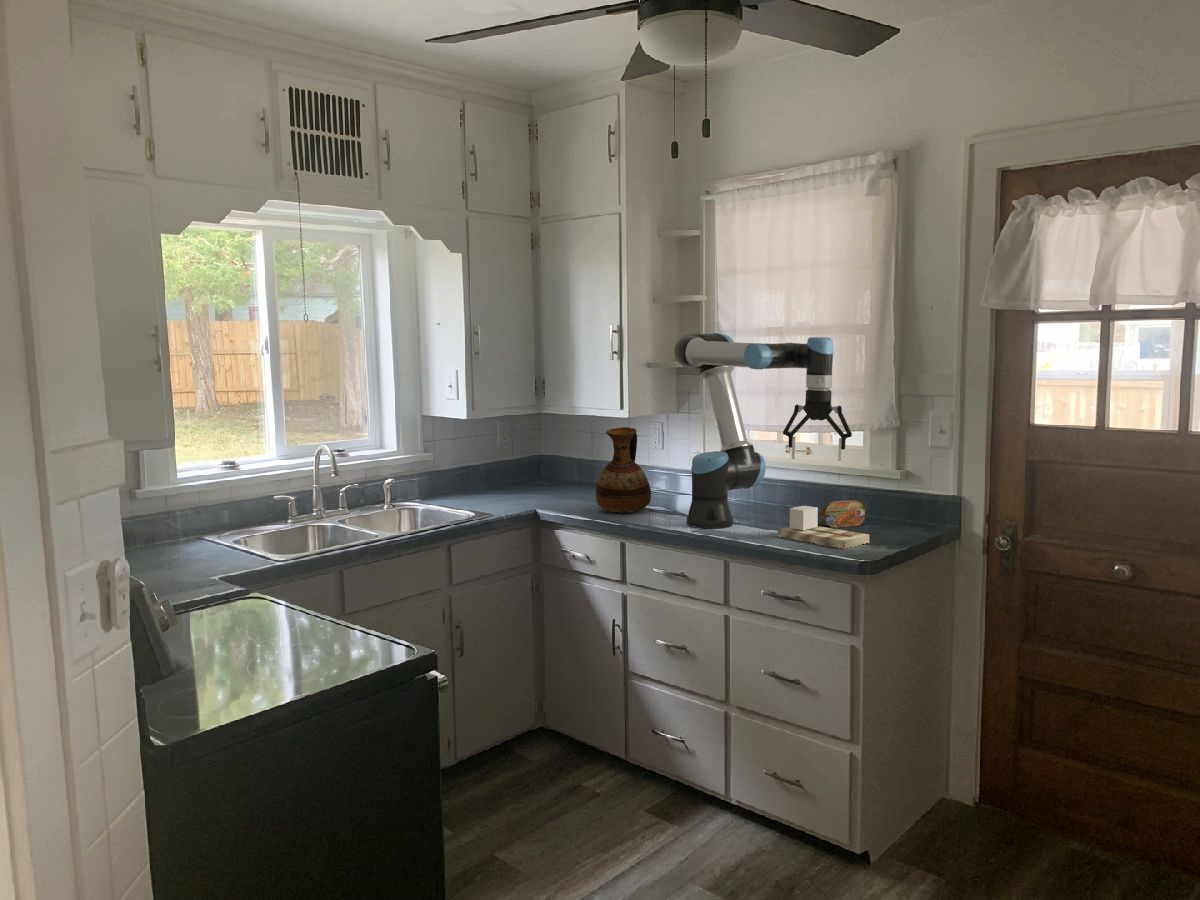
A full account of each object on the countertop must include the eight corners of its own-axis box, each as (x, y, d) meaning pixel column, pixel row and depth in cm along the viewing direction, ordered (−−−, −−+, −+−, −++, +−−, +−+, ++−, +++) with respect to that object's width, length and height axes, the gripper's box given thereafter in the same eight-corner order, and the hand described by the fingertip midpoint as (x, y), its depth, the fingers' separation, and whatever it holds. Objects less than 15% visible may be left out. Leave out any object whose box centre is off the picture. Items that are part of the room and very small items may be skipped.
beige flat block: (777, 536, 281) (777, 528, 280) (802, 531, 288) (802, 523, 288) (844, 549, 263) (845, 540, 262) (869, 543, 270) (869, 534, 270)
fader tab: (789, 527, 280) (789, 508, 279) (804, 524, 285) (804, 505, 284) (803, 530, 276) (803, 510, 276) (817, 527, 281) (817, 507, 280)
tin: (825, 529, 292) (825, 502, 291) (820, 527, 295) (820, 501, 294) (866, 525, 296) (867, 499, 295) (861, 524, 299) (861, 498, 298)
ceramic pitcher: (588, 514, 323) (587, 429, 320) (605, 505, 342) (604, 424, 339) (642, 516, 317) (642, 430, 314) (656, 507, 336) (656, 425, 333)
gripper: (775, 389, 276) (773, 459, 279) (862, 390, 269) (859, 462, 272) (777, 387, 283) (775, 455, 286) (861, 389, 277) (858, 459, 279)
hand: (816, 459), depth 279 cm, fingers open, 13 cm apart
